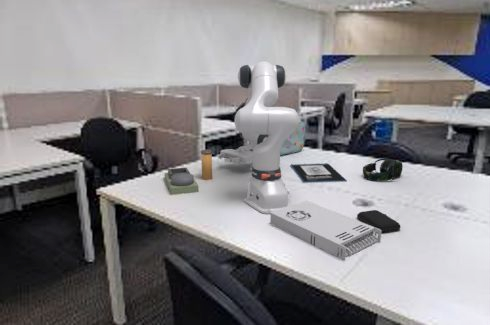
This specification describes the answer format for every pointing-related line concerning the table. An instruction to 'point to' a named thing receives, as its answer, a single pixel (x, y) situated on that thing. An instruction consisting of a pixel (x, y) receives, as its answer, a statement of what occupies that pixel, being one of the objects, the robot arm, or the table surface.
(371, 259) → the table surface
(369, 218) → the carrying case or bag
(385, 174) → the headphones
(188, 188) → the green slab
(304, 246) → the table surface
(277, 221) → the power supply unit
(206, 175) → the orange pill bottle
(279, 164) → the robot arm
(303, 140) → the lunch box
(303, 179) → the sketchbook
